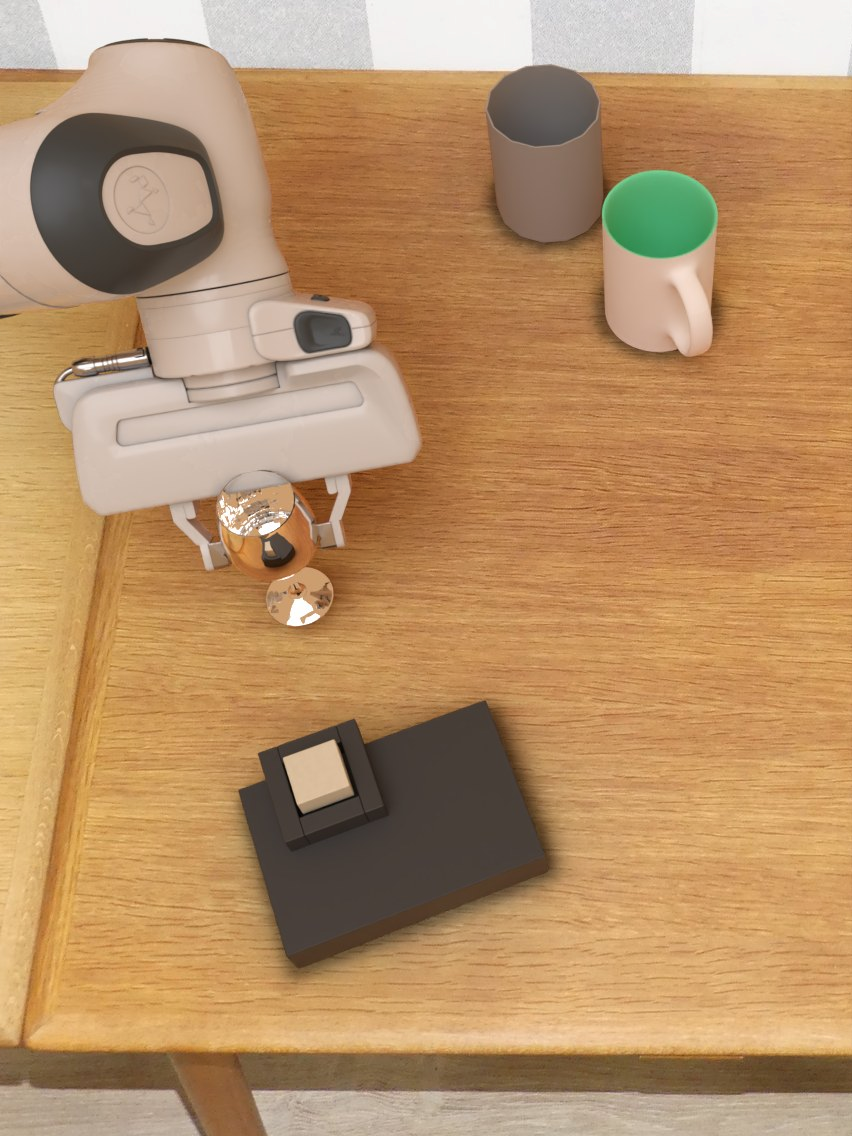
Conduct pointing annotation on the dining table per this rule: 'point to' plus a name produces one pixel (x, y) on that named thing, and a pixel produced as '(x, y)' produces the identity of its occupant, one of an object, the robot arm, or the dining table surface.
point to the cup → (546, 152)
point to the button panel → (391, 832)
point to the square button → (318, 776)
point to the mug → (660, 262)
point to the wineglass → (276, 549)
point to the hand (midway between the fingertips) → (278, 556)
